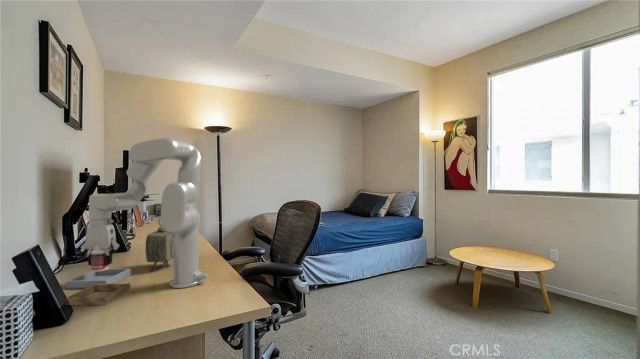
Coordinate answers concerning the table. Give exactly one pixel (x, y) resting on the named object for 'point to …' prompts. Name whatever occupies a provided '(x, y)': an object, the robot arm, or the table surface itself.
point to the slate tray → (98, 278)
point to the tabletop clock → (159, 247)
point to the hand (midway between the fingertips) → (100, 263)
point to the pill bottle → (98, 260)
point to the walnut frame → (82, 300)
